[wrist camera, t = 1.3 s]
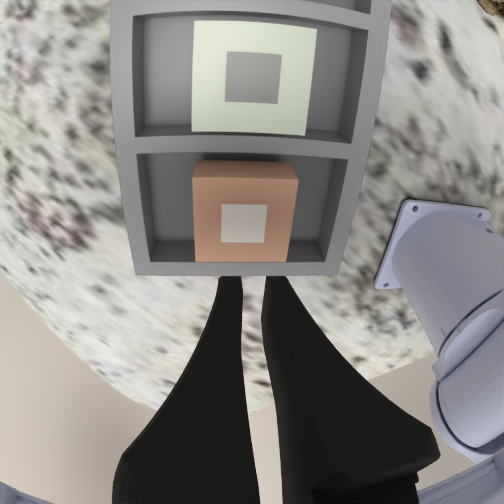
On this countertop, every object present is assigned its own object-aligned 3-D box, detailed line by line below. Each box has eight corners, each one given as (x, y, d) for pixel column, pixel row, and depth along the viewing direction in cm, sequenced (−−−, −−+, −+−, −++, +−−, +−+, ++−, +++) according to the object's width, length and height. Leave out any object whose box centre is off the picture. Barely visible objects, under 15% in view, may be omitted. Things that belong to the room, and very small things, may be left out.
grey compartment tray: (368, -81, 8) (394, -97, 6) (323, 244, 21) (336, 275, 19) (143, -98, 7) (129, -120, 4) (145, 243, 20) (136, 275, 18)
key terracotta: (290, 162, 15) (299, 180, 13) (280, 239, 18) (286, 263, 16) (196, 160, 14) (192, 178, 13) (198, 238, 17) (195, 263, 15)
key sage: (304, 30, 11) (317, 28, 9) (294, 123, 14) (305, 136, 12) (198, 24, 11) (194, 20, 9) (195, 120, 13) (191, 132, 12)
